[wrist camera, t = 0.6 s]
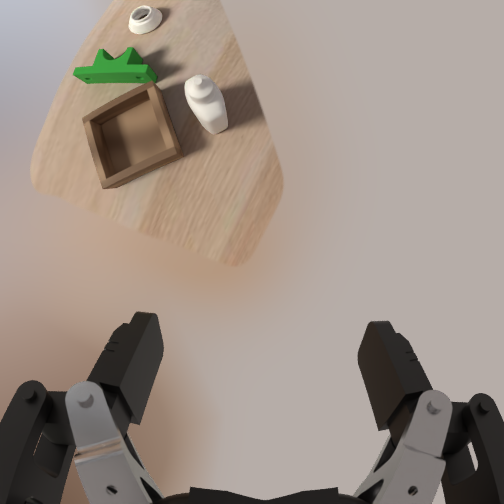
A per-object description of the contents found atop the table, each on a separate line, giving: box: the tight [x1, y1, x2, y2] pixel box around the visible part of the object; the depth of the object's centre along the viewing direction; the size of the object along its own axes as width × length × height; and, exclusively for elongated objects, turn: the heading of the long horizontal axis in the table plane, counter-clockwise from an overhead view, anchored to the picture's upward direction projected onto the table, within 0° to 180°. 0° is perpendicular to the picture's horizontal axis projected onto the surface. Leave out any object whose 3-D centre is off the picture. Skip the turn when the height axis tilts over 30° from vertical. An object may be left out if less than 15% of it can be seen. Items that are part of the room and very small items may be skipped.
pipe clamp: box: [73, 47, 157, 84], centre depth 27 cm, size 11×4×5 cm, turn 78°
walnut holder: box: [82, 81, 184, 189], centre depth 30 cm, size 10×10×4 cm
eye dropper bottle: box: [185, 74, 228, 134], centre depth 26 cm, size 4×6×12 cm
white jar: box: [129, 6, 162, 34], centre depth 26 cm, size 5×3×5 cm
